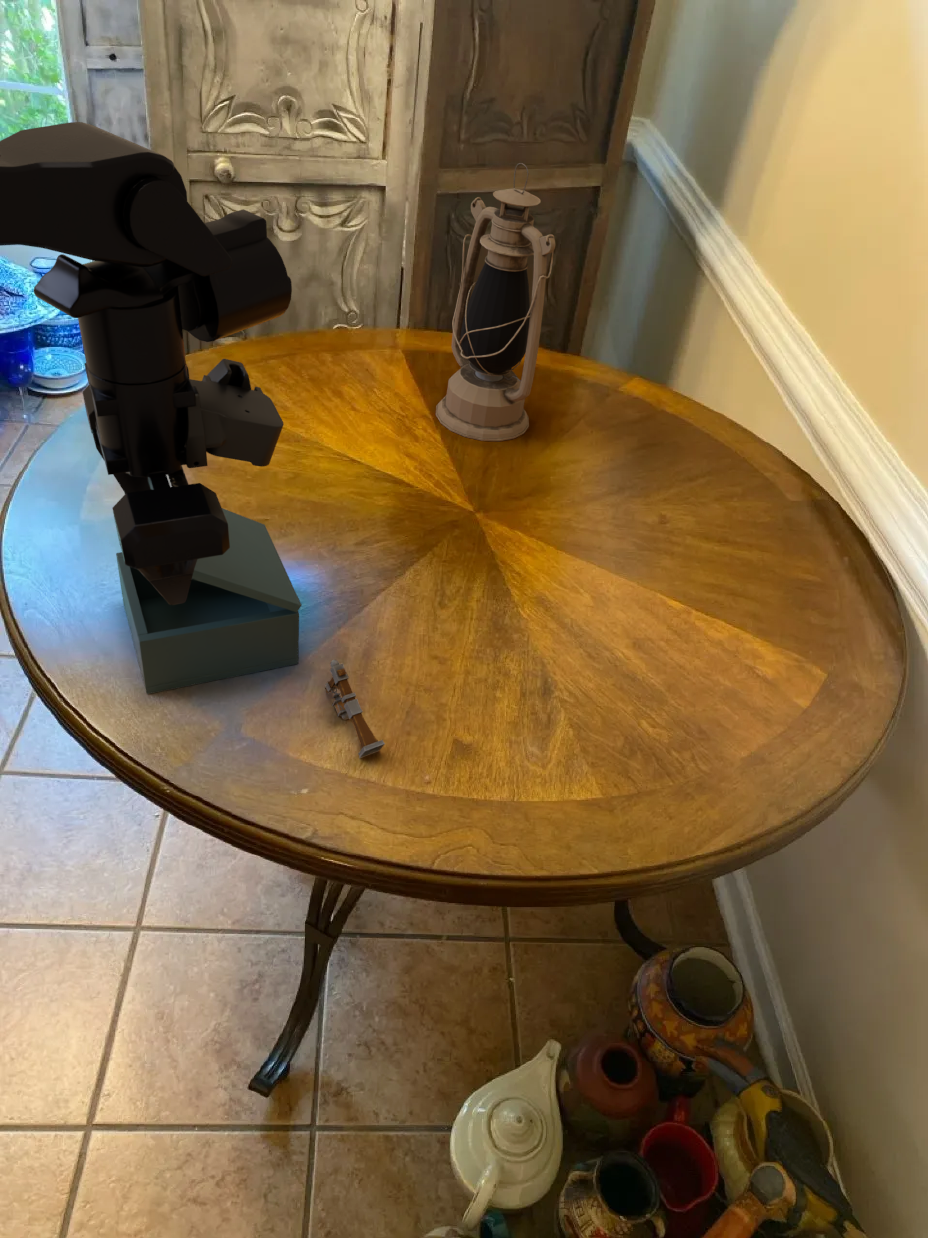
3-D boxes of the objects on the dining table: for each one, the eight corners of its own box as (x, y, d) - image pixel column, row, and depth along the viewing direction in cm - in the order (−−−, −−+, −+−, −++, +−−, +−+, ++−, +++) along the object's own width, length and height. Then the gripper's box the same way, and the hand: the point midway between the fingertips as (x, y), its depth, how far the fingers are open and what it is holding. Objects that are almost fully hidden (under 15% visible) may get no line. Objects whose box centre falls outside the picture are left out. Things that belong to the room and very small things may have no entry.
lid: (144, 564, 66) (150, 555, 65) (119, 477, 73) (124, 469, 73) (296, 612, 75) (302, 605, 74) (260, 531, 82) (264, 524, 82)
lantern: (410, 400, 117) (436, 145, 97) (481, 382, 123) (518, 140, 104) (482, 454, 109) (526, 189, 90) (554, 432, 116) (609, 180, 96)
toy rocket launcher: (333, 674, 77) (345, 652, 73) (371, 760, 75) (386, 742, 71) (314, 681, 76) (325, 659, 72) (351, 768, 74) (365, 750, 70)
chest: (146, 694, 74) (139, 641, 70) (123, 604, 81) (115, 552, 78) (298, 664, 79) (299, 613, 75) (263, 581, 86) (262, 531, 83)
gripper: (310, 425, 52) (311, 624, 63) (234, 288, 64) (245, 475, 75) (105, 450, 48) (142, 659, 59) (64, 299, 60) (101, 495, 71)
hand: (165, 561), depth 66 cm, fingers open, 9 cm apart
